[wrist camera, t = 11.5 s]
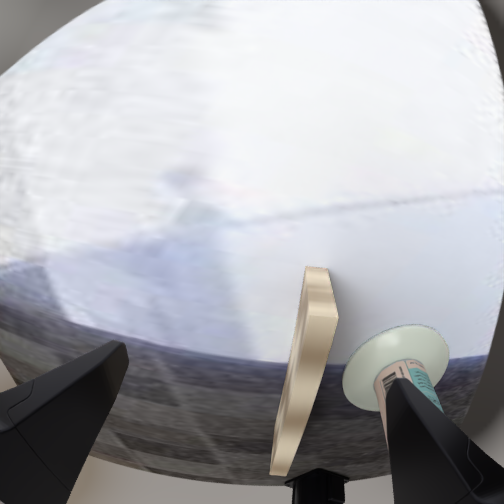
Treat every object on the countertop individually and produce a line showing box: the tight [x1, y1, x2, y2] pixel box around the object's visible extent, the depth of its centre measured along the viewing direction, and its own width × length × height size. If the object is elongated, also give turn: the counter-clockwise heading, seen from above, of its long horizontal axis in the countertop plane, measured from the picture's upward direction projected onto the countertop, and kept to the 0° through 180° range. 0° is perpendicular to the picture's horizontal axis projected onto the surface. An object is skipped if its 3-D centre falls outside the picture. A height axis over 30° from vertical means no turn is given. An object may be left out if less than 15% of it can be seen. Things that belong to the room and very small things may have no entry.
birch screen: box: [270, 266, 339, 476], centre depth 21 cm, size 18×2×6 cm, turn 176°
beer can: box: [373, 359, 444, 451], centre depth 17 cm, size 5×5×12 cm
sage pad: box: [342, 324, 449, 411], centre depth 22 cm, size 10×10×1 cm
